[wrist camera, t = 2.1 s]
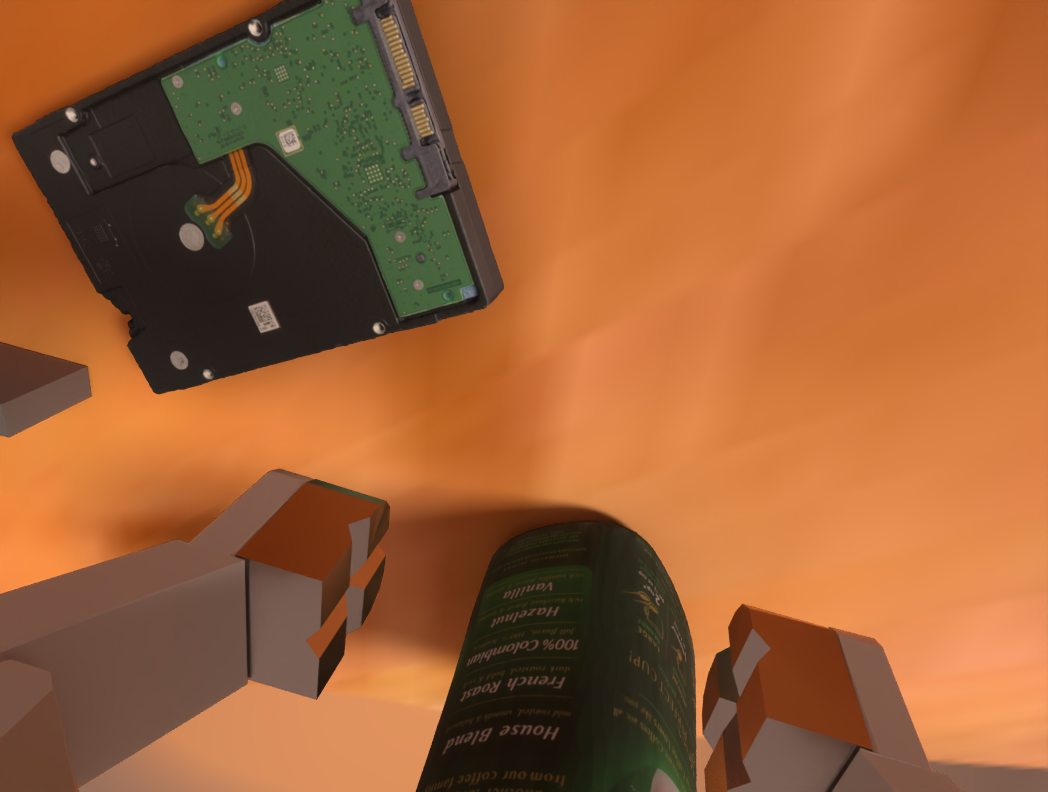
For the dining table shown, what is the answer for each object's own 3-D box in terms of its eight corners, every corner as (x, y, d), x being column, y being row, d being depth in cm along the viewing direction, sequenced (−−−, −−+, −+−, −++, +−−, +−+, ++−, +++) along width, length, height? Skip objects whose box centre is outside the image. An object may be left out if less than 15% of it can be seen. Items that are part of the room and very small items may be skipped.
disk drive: (203, 375, 28) (514, 286, 23) (156, 402, 25) (493, 309, 20) (71, 131, 24) (404, -34, 19) (1, 135, 22) (364, -54, 17)
